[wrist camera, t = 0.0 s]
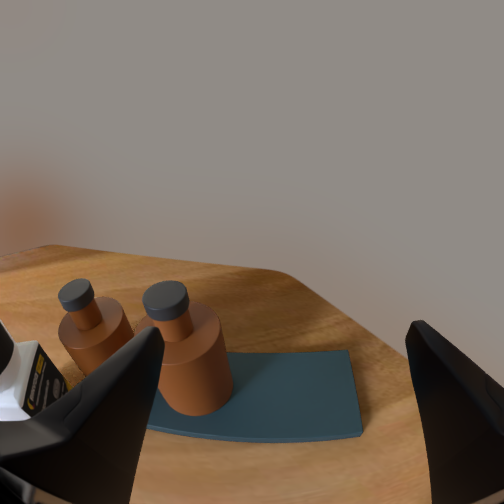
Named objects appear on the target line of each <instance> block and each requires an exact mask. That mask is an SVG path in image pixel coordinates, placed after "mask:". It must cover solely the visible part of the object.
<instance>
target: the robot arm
mask: <svg viewBox="0 0 504 504" xmlns="http://www.w3.org/2000/svg"><path fill="white" fill-rule="evenodd" d="M405 343H406V349H407V354H408V360H409V366H410V373H411V378H412V383H413V387H414V391H415V395H416V399H417V403H418V408H419V413H420V417H421V422H422V427H423V433H424V438H425V444H426V451H427V457H428V465H429V474H430V484H431V496H432V504H504V388H503V387H502V386H501V385H499V384H498V383H497V382H496V381H495V380H494V379H492V378H491V377H490V376H489V375H488V374H486V373H485V372H484V371H483V370H482V369H481V368H480V367H479V366H478V365H476V364H475V363H474V362H473V361H472V360H471V359H470V358H468V357H467V356H466V355H465V354H464V353H462V352H461V351H460V350H459V349H458V348H457V347H455V346H454V345H453V344H452V343H450V342H449V341H448V340H447V339H445V338H444V337H443V336H442V335H441V334H440V333H438V332H437V331H436V330H435V329H433V328H432V327H431V326H430V325H428V324H427V323H426V322H425V321H423V320H418V321H413V322H412V323H411V325H410V328H409V330H408V333H407V335H406V339H405ZM164 350H165V342H164V339H163V337H162V334H161V332H160V330H159V328H158V327H155V326H147V327H145V328H144V329H143V330H142V331H141V332H139V333H138V334H137V335H136V336H135V337H133V338H132V339H131V340H130V341H129V342H127V343H126V344H125V345H124V346H123V347H121V348H120V349H119V350H118V351H117V352H115V353H114V354H113V355H112V356H111V357H109V358H108V359H107V360H106V361H105V362H103V363H102V364H101V365H100V366H99V367H97V368H96V369H95V370H94V371H93V372H91V373H90V374H89V375H88V376H87V377H85V378H84V379H83V380H82V381H81V382H79V383H78V384H77V385H76V386H75V387H74V388H72V389H71V390H70V391H69V392H67V393H66V394H65V395H63V396H62V397H61V398H59V399H58V400H57V401H55V402H54V403H52V404H51V405H49V406H48V407H46V408H45V409H44V410H42V411H41V412H39V413H38V414H36V415H35V416H33V417H31V418H29V419H26V420H21V421H0V504H129V502H130V497H131V492H132V487H133V483H134V478H135V477H134V476H135V473H136V469H137V464H138V460H139V456H140V452H141V448H142V444H143V440H144V436H145V432H146V428H147V424H148V420H149V417H150V413H151V409H152V406H153V402H154V398H155V395H156V391H157V388H158V384H159V379H160V373H161V367H162V361H163V356H164Z"/></svg>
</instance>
